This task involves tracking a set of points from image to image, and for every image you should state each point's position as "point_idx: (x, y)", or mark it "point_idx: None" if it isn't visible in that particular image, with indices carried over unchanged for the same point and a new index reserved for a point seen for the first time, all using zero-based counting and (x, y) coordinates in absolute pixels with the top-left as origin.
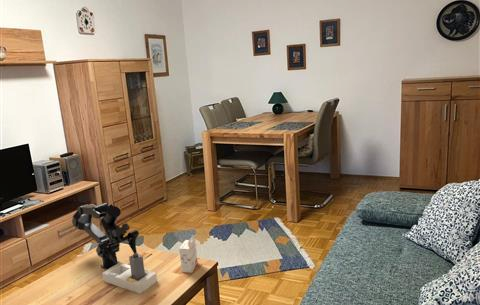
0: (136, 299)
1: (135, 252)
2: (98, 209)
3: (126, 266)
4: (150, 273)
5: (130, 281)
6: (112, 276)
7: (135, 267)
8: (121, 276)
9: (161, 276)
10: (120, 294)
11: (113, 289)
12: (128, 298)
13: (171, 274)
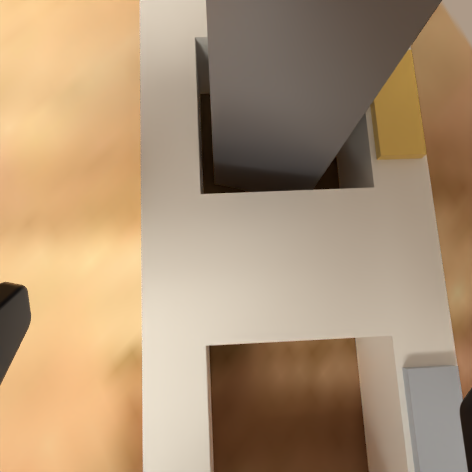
0: (434, 14)
1: (5, 301)
2: None
3: (190, 437)
4: (177, 23)
5: (413, 93)
6: (460, 398)
7: None
8: (399, 280)
9: (71, 68)
10: (468, 184)
11: (459, 311)
12: (463, 79)
13: (4, 12)
